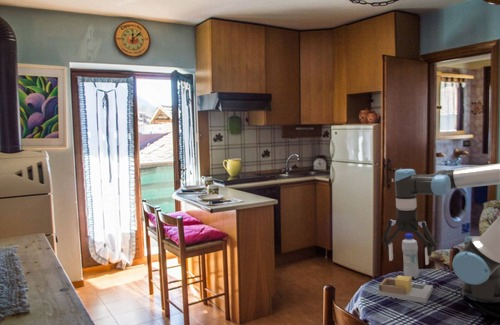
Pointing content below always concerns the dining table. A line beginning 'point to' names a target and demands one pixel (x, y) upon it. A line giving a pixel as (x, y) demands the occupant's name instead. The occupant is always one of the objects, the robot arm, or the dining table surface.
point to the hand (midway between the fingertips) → (408, 261)
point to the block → (404, 283)
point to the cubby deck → (416, 294)
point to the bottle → (410, 256)
